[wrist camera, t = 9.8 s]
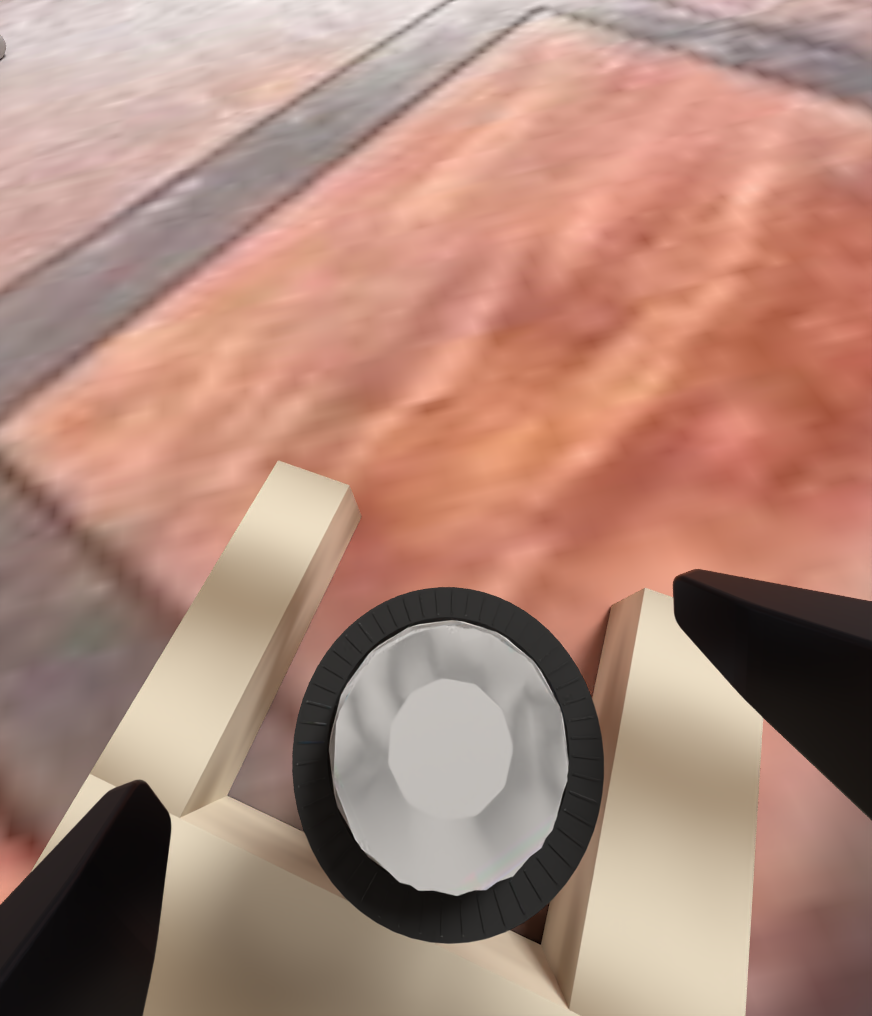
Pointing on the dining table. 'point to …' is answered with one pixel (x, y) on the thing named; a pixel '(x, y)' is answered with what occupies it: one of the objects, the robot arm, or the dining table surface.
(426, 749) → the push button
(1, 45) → the elephant statuette
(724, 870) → the notched board
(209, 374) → the dining table surface
